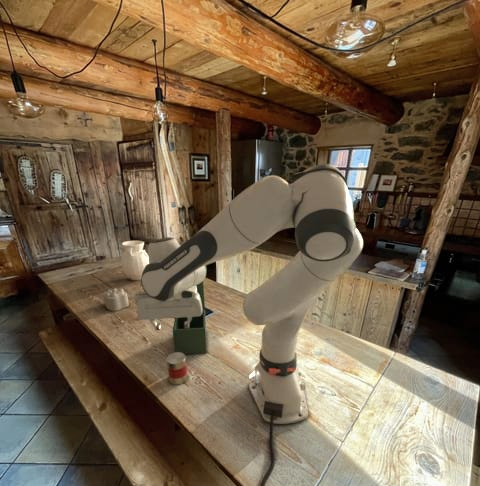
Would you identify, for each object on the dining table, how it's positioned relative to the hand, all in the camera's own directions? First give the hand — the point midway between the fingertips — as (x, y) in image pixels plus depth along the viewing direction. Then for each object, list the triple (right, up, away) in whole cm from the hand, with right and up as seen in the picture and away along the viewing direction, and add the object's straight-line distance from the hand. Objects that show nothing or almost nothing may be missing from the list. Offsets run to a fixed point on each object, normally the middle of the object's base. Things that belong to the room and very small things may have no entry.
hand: (172, 328), depth 87 cm
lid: (+1, +10, +25) cm, 27 cm away
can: (0, -19, +9) cm, 21 cm away
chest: (+1, -11, +28) cm, 30 cm away
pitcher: (-49, +20, +98) cm, 111 cm away
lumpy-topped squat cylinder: (-46, +4, +60) cm, 76 cm away
